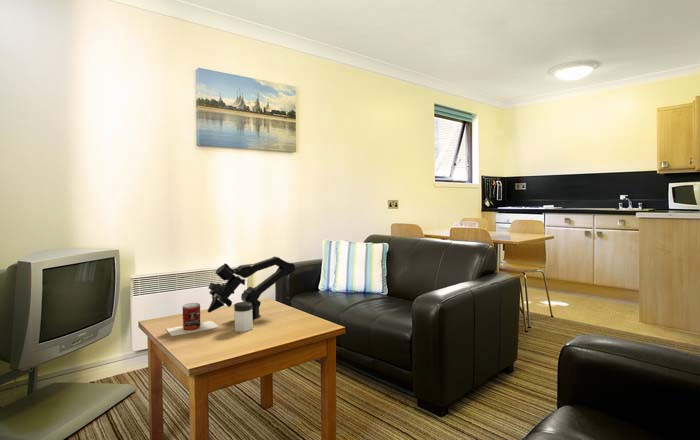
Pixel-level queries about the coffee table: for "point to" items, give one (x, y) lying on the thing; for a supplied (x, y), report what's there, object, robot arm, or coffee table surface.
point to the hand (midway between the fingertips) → (208, 311)
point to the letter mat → (203, 326)
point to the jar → (243, 316)
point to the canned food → (191, 316)
